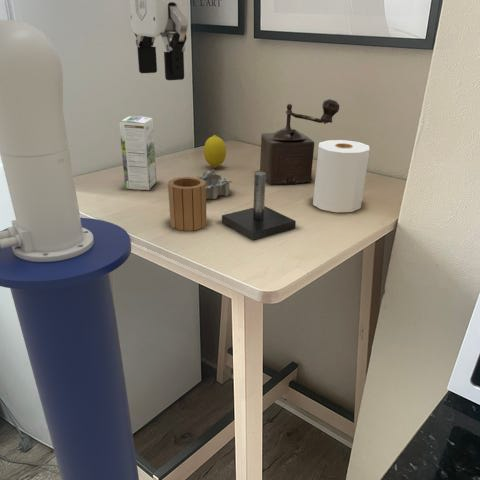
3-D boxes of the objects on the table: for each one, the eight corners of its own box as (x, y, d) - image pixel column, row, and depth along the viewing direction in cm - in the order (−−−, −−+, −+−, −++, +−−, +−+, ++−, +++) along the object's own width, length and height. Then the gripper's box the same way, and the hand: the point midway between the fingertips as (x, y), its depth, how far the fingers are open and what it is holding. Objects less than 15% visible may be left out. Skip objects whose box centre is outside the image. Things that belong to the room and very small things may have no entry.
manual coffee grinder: (269, 186, 114) (274, 102, 105) (258, 172, 124) (261, 93, 114) (333, 182, 117) (343, 100, 107) (317, 169, 126) (325, 92, 117)
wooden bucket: (182, 233, 91) (180, 190, 86) (164, 221, 95) (161, 180, 91) (213, 225, 94) (212, 184, 90) (194, 214, 99) (193, 174, 94)
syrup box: (133, 181, 116) (126, 115, 108) (157, 183, 115) (152, 116, 107) (125, 189, 111) (117, 120, 103) (150, 191, 110) (145, 122, 102)
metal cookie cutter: (215, 186, 114) (215, 168, 112) (235, 195, 109) (235, 176, 107) (175, 194, 108) (174, 176, 106) (194, 204, 103) (194, 185, 101)
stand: (253, 240, 89) (255, 185, 83) (221, 222, 96) (221, 170, 90) (295, 228, 94) (299, 175, 88) (262, 212, 101) (264, 162, 95)
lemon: (201, 165, 127) (200, 133, 123) (221, 163, 129) (221, 131, 125) (208, 172, 123) (208, 138, 118) (229, 169, 125) (229, 136, 120)
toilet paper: (344, 194, 111) (352, 137, 104) (370, 209, 103) (380, 150, 96) (303, 198, 108) (309, 141, 101) (327, 215, 100) (335, 154, 93)
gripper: (108, -49, 78) (119, 71, 88) (157, -56, 66) (164, 84, 76) (151, -46, 82) (157, 69, 91) (205, -52, 70) (206, 81, 79)
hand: (161, 76), depth 83 cm, fingers open, 9 cm apart
